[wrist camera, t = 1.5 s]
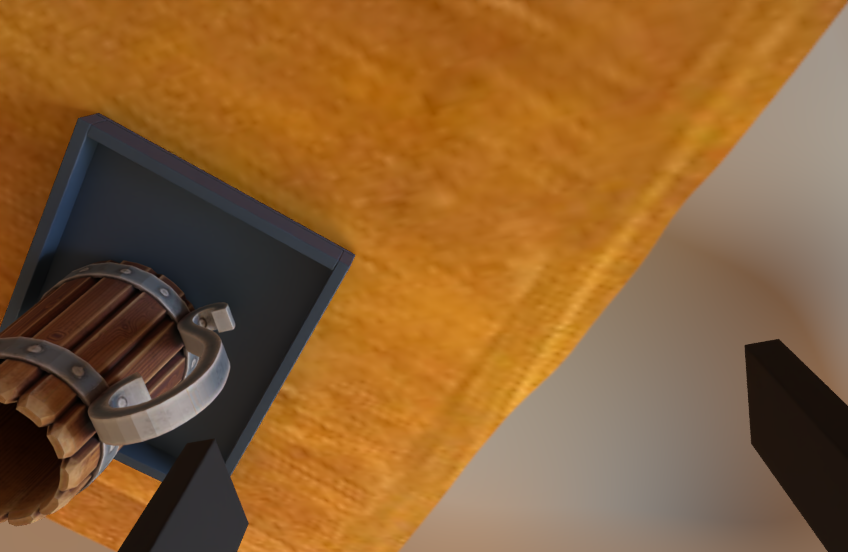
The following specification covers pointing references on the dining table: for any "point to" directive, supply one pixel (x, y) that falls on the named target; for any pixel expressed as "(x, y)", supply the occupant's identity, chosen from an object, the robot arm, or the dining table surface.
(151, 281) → the mug
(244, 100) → the dining table surface
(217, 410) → the tray
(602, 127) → the dining table surface
